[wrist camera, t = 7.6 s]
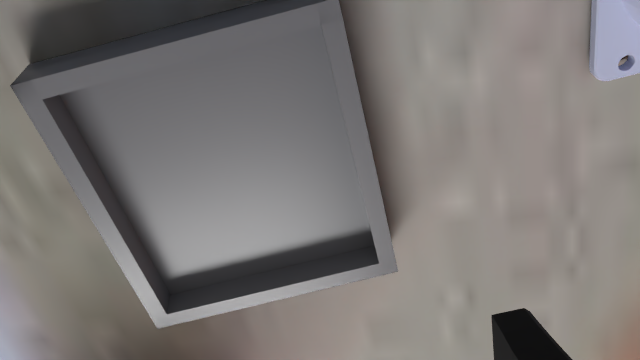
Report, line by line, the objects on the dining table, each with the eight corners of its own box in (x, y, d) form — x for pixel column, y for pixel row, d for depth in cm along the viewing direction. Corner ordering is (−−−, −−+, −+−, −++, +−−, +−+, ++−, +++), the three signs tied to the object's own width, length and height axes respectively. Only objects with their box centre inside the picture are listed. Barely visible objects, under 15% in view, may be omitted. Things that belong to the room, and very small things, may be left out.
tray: (332, -18, 16) (338, -3, 15) (390, 244, 22) (398, 271, 20) (28, 64, 17) (10, 85, 15) (163, 299, 22) (157, 328, 21)
